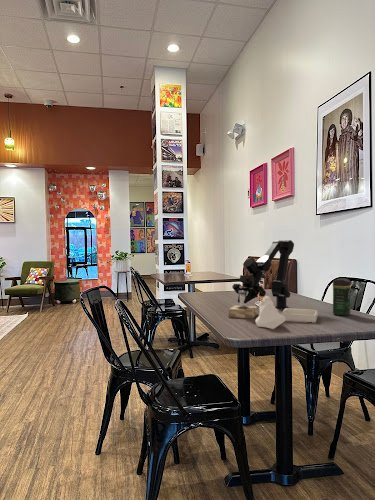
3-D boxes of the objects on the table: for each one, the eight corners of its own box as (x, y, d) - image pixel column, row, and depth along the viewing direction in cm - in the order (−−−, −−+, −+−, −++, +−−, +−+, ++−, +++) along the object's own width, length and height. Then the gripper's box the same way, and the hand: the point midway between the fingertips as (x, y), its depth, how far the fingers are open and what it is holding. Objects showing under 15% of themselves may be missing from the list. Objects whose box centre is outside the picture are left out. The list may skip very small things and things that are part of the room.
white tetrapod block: (258, 333, 158) (249, 301, 160) (257, 328, 173) (248, 298, 174) (287, 326, 157) (278, 293, 158) (283, 321, 171) (274, 292, 173)
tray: (285, 315, 190) (285, 308, 190) (317, 316, 184) (317, 309, 184) (281, 320, 175) (280, 313, 175) (315, 323, 169) (315, 315, 169)
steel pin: (240, 314, 193) (239, 290, 193) (248, 314, 191) (248, 290, 191) (238, 315, 189) (237, 291, 189) (246, 316, 187) (246, 291, 187)
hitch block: (234, 312, 198) (234, 305, 198) (257, 314, 193) (257, 306, 193) (228, 316, 187) (228, 309, 187) (252, 318, 182) (252, 310, 182)
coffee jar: (347, 316, 183) (347, 279, 182) (331, 315, 187) (330, 278, 187) (352, 313, 190) (351, 277, 190) (336, 312, 195) (335, 277, 195)
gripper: (234, 268, 199) (220, 291, 192) (261, 270, 185) (248, 294, 178) (243, 282, 205) (230, 304, 198) (271, 284, 191) (258, 308, 184)
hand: (241, 302), depth 189 cm, fingers closed on steel pin, 4 cm apart
